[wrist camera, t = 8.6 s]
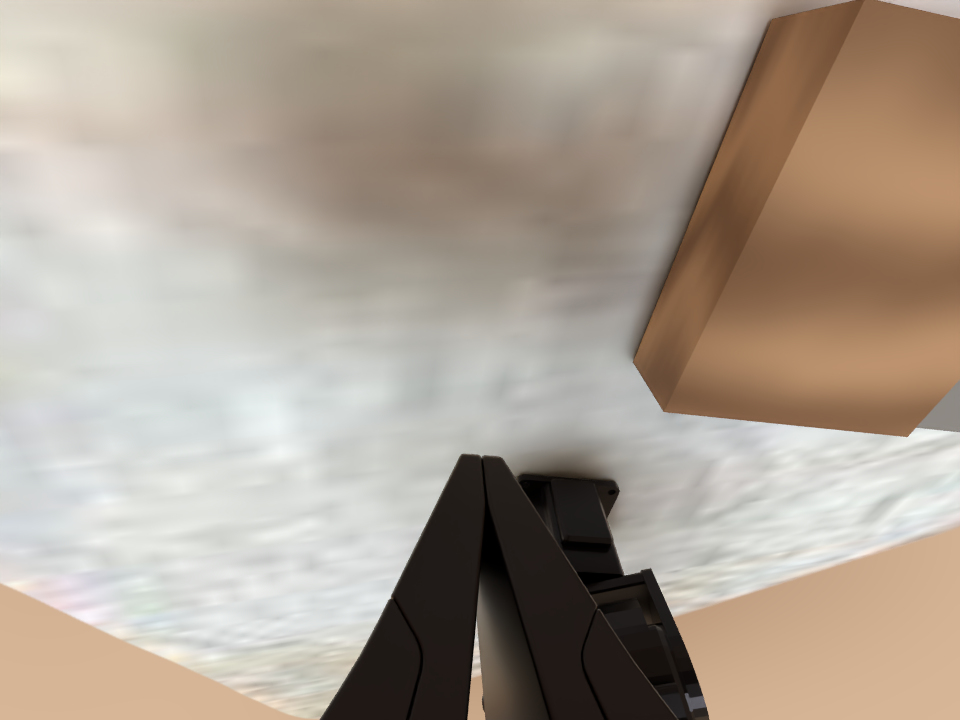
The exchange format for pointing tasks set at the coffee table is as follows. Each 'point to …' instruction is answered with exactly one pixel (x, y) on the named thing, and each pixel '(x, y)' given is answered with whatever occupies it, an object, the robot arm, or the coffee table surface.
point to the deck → (825, 234)
